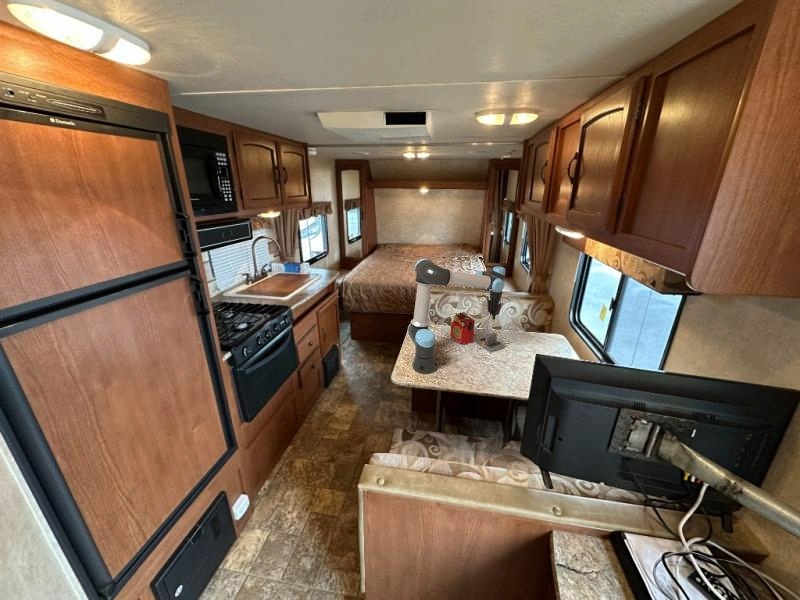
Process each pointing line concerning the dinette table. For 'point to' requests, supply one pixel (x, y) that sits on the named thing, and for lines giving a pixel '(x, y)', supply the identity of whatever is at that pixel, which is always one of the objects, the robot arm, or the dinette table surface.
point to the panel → (490, 338)
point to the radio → (462, 328)
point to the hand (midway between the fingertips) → (491, 323)
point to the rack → (490, 345)
